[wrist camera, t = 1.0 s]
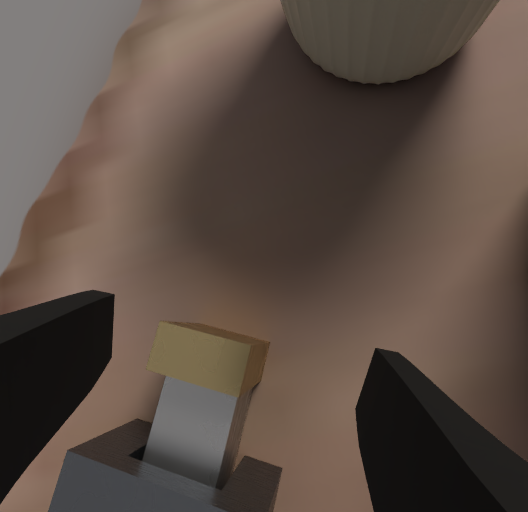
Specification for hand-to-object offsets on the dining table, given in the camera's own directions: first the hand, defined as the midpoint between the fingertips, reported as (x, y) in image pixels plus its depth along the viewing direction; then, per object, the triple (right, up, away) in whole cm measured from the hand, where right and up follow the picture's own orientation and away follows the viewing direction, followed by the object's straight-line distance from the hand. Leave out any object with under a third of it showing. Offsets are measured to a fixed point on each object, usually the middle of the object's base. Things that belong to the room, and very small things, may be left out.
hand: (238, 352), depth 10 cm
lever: (-3, -8, +13) cm, 15 cm away
